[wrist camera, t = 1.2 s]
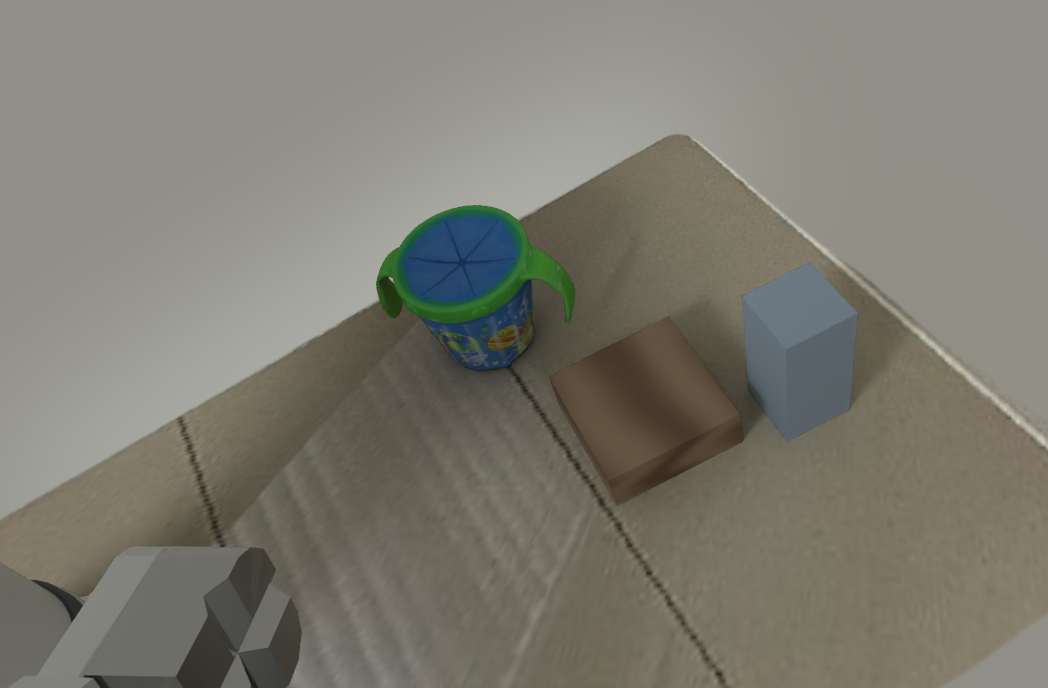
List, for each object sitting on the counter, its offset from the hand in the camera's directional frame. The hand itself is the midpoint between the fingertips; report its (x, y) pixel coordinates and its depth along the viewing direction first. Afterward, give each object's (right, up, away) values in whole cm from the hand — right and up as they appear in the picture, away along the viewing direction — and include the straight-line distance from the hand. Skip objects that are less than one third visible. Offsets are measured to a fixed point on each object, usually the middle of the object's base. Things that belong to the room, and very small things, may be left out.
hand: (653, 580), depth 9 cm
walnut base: (+8, -4, +59) cm, 59 cm away
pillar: (+18, -2, +57) cm, 60 cm away
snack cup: (-4, +3, +67) cm, 67 cm away
